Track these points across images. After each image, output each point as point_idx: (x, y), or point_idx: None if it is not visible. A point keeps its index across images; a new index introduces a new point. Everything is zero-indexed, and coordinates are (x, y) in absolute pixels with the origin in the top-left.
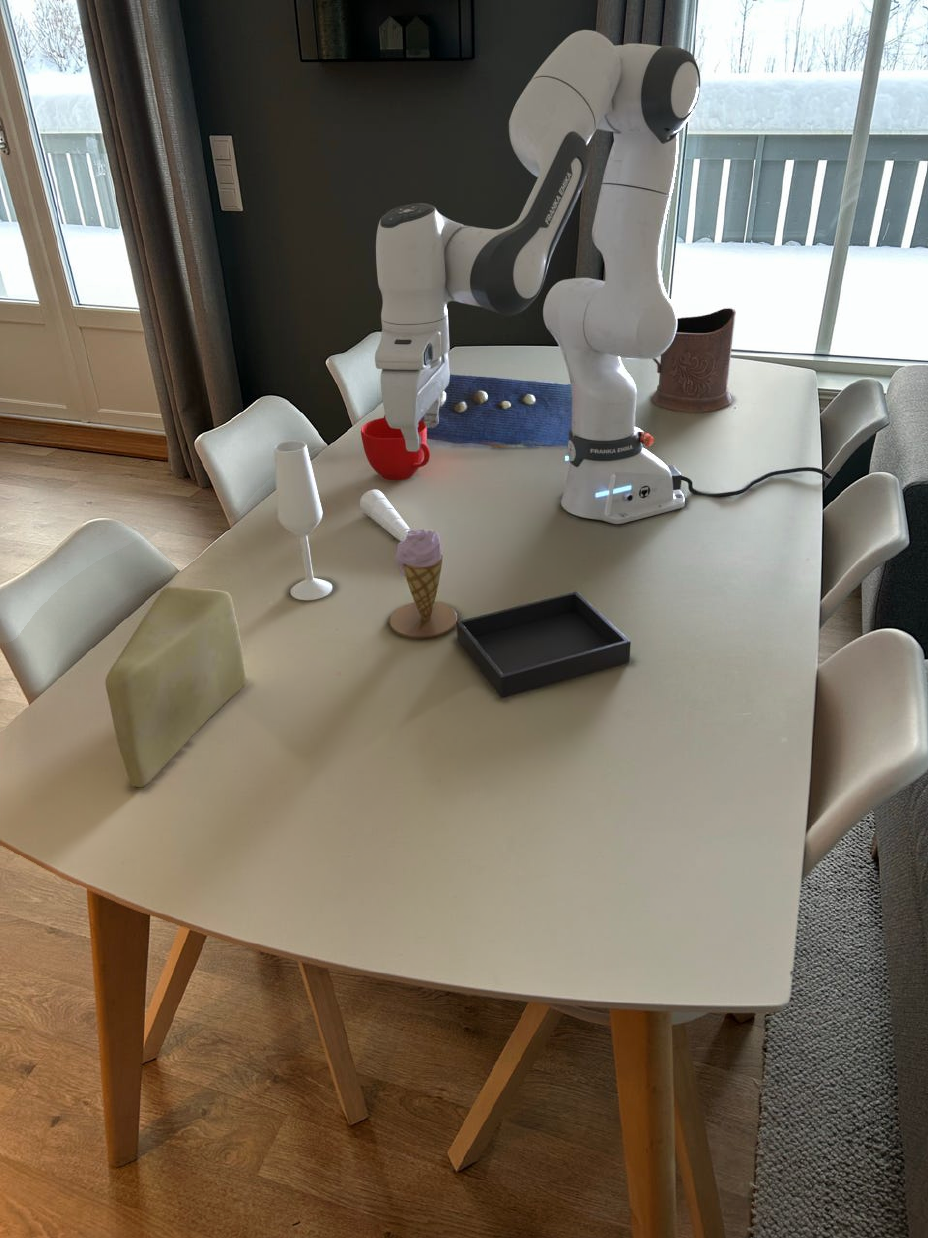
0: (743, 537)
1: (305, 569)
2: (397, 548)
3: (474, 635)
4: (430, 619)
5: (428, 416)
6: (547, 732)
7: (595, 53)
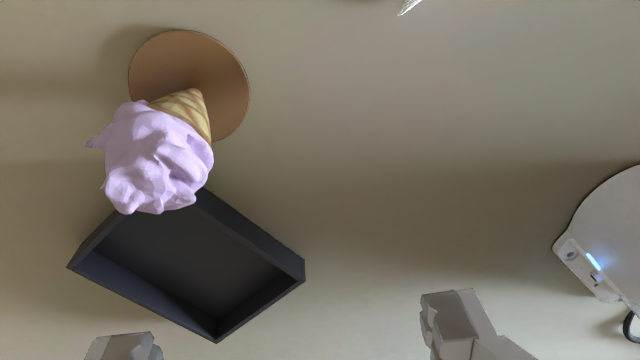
0: None
1: None
2: (111, 124)
3: None
4: None
5: (439, 353)
6: (58, 294)
7: None
